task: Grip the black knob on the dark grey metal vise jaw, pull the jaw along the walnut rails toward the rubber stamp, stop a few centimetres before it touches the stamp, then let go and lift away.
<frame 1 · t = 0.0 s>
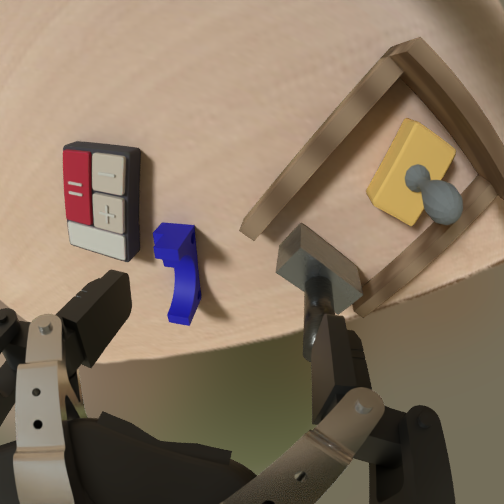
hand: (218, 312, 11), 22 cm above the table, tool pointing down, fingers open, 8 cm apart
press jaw: (322, 295, 29), point 8 cm above the table, slide at 0.0 cm
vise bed: (388, 185, 29), on the table
blue pipe saddle: (183, 261, 39), on the table
calculator: (108, 194, 36), on the table
rubber stamp: (404, 166, 28), resting in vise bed
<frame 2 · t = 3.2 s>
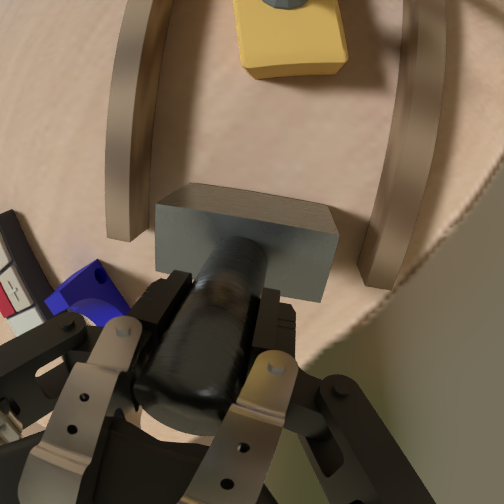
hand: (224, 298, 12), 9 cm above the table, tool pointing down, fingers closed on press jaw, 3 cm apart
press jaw: (233, 270, 13), point 8 cm above the table, slide at 0.0 cm, touching gripper
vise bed: (279, 48, 15), on the table
blue pipe saddle: (120, 314, 26), on the table
calculator: (25, 276, 27), on the table
rubber stamp: (285, 13, 14), resting in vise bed
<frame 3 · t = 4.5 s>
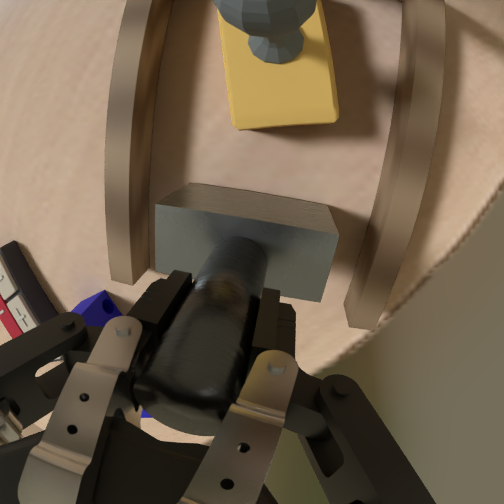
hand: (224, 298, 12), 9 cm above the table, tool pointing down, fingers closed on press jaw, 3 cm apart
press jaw: (233, 270, 13), point 8 cm above the table, slide at 3.5 cm, touching gripper
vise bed: (271, 96, 16), on the table
blue pipe saddle: (127, 339, 28), on the table
calculator: (31, 301, 29), on the table
rubber stamp: (278, 56, 15), resting in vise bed
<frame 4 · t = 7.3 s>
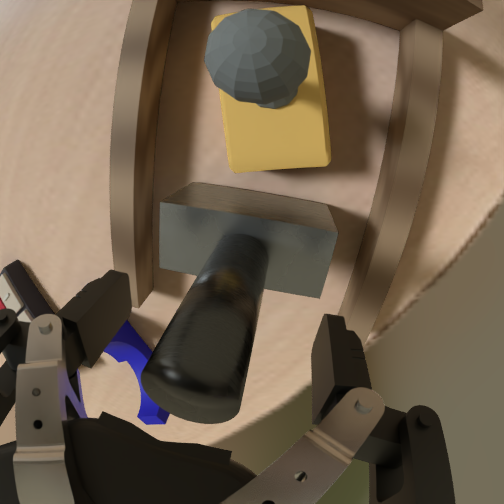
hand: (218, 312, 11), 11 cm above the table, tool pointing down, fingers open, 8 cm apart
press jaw: (235, 266, 14), point 8 cm above the table, slide at 6.0 cm
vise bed: (267, 133, 18), on the table
blue pipe saddle: (137, 349, 29), on the table
calculator: (38, 316, 31), on the table
rubber stamp: (274, 91, 17), resting in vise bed
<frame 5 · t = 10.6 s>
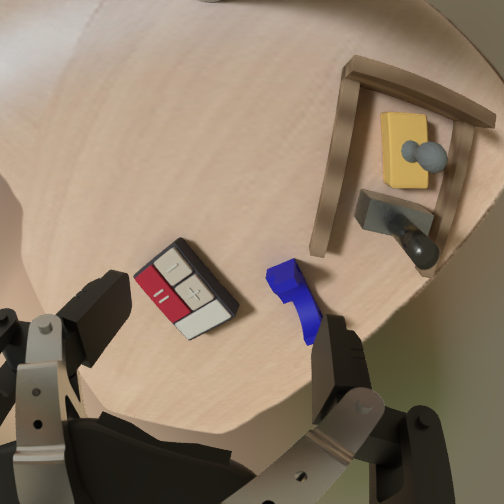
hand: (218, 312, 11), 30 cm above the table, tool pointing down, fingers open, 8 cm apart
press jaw: (404, 226, 31), point 8 cm above the table, slide at 6.0 cm
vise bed: (396, 168, 35), on the table
blue pipe saddle: (296, 293, 46), on the table
calculator: (188, 285, 48), on the table
rubber stamp: (400, 148, 34), resting in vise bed
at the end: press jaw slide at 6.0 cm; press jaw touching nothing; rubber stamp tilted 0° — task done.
